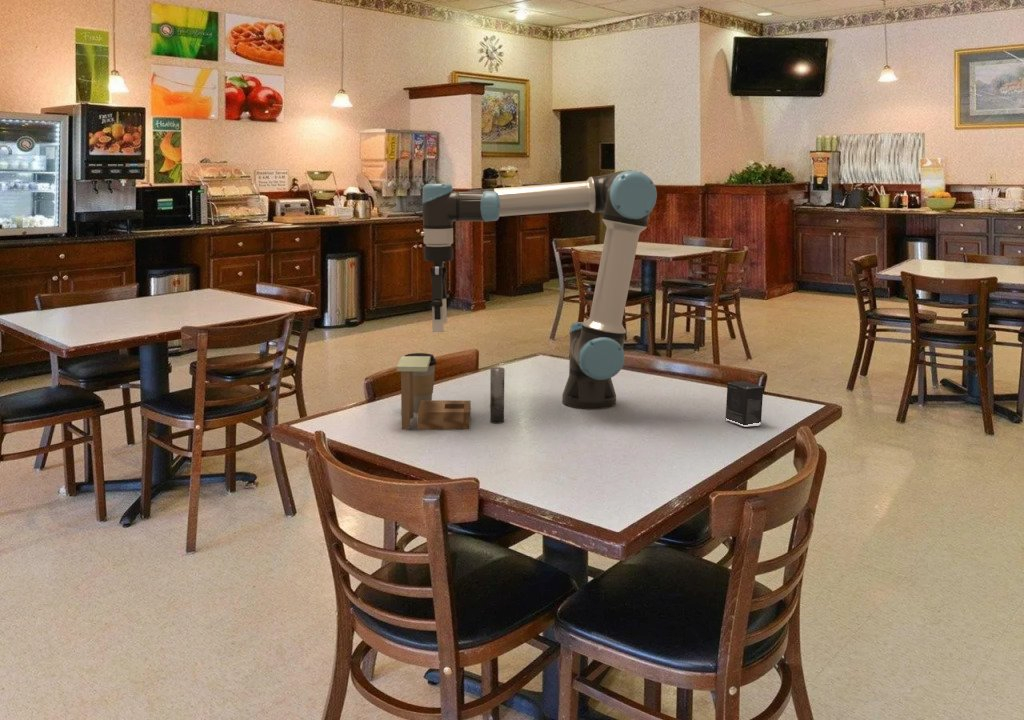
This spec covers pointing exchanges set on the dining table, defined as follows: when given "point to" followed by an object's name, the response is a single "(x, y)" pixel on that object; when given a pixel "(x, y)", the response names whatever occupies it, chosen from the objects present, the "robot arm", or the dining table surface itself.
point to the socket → (444, 415)
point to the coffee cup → (423, 382)
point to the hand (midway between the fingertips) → (439, 327)
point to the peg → (497, 395)
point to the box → (744, 402)
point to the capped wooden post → (409, 384)
